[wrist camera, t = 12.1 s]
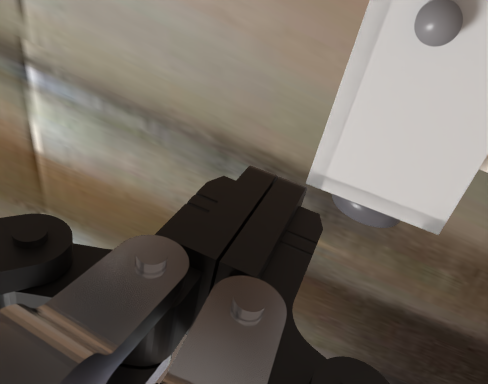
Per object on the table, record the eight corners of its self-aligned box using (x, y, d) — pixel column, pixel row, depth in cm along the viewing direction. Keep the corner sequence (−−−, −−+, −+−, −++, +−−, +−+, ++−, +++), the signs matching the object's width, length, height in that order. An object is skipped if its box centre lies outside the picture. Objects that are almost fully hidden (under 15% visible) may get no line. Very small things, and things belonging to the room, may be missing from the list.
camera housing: (401, -55, 31) (387, -58, 22) (544, -19, 29) (593, -6, 20) (324, 158, 41) (292, 216, 32) (425, 196, 39) (423, 269, 30)
